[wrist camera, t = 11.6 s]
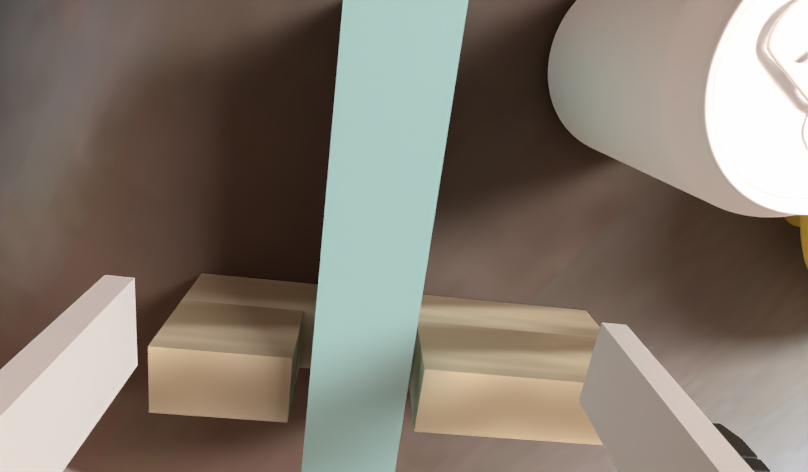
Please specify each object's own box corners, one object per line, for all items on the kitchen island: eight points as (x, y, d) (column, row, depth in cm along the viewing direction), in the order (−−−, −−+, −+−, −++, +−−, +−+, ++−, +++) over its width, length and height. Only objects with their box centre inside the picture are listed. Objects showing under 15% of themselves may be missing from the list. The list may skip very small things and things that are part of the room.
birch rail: (201, 272, 27) (147, 346, 21) (585, 310, 29) (648, 387, 23) (200, 326, 28) (149, 412, 22) (573, 358, 30) (629, 447, 24)
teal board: (354, -6, 23) (345, -34, 15) (435, 6, 24) (470, -15, 15) (317, 389, 30) (296, 526, 21) (381, 394, 30) (385, 531, 22)
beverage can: (607, 185, 27) (779, 287, 16) (507, 57, 25) (623, 69, 13) (748, 71, 26) (1048, 92, 14) (655, -77, 23) (924, -190, 12)
